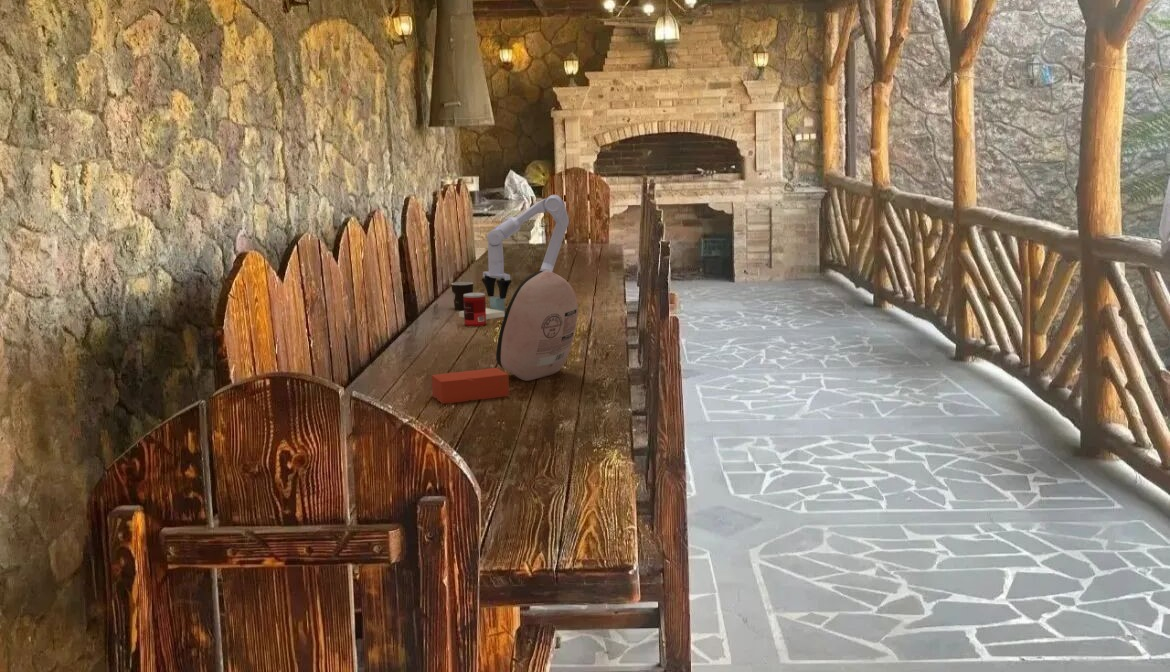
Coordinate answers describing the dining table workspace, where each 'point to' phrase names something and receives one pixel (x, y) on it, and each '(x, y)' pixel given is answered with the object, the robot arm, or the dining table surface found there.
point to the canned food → (474, 309)
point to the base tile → (488, 313)
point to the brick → (470, 385)
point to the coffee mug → (460, 293)
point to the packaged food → (538, 327)
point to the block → (497, 303)
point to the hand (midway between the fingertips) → (496, 297)
